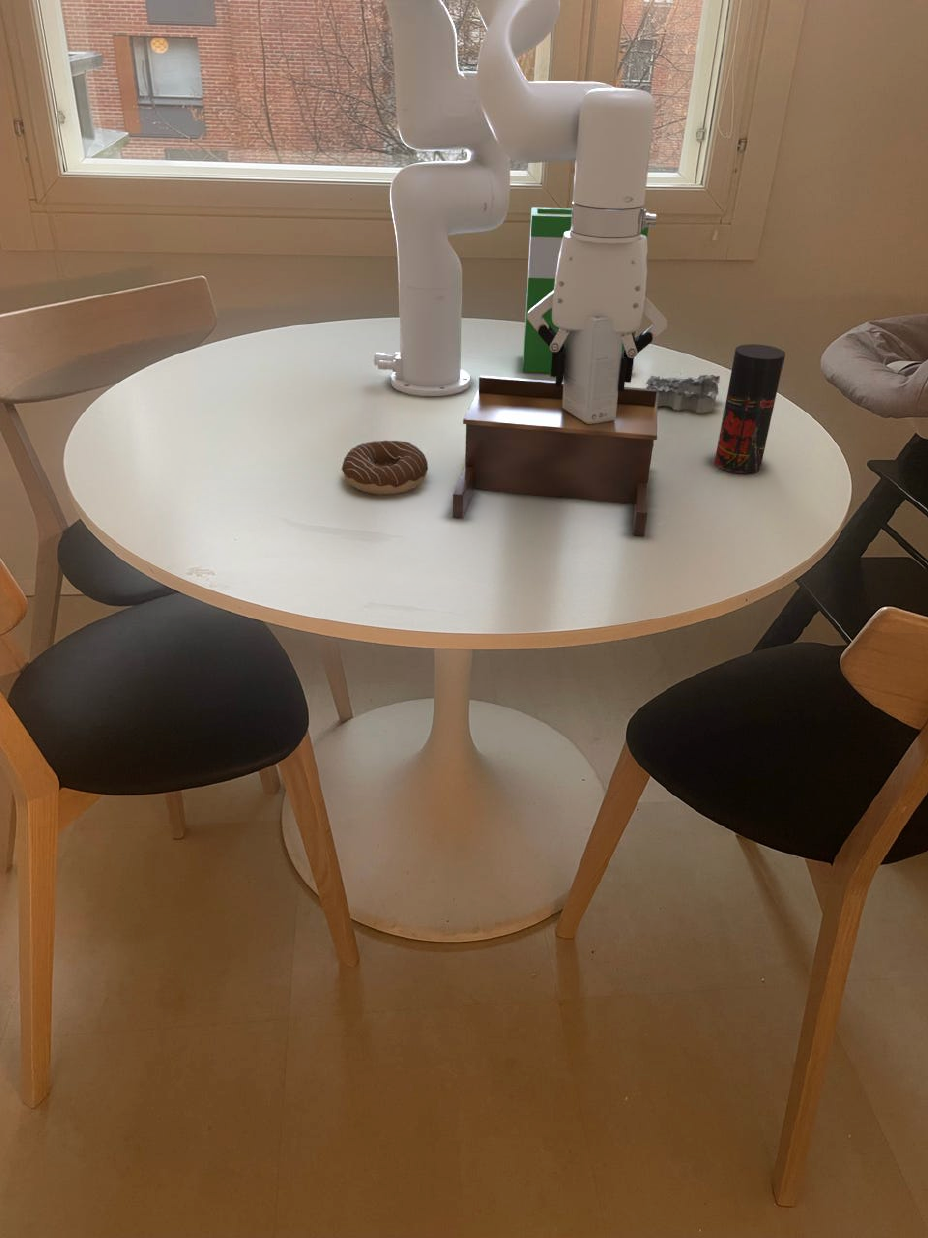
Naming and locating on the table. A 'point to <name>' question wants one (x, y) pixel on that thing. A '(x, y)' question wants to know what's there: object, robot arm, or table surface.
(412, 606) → the table surface
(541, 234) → the hardback book
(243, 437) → the table surface
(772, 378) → the deodorant
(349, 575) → the table surface
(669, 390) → the egg carton
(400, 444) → the donut
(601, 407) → the cosmetic box
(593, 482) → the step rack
